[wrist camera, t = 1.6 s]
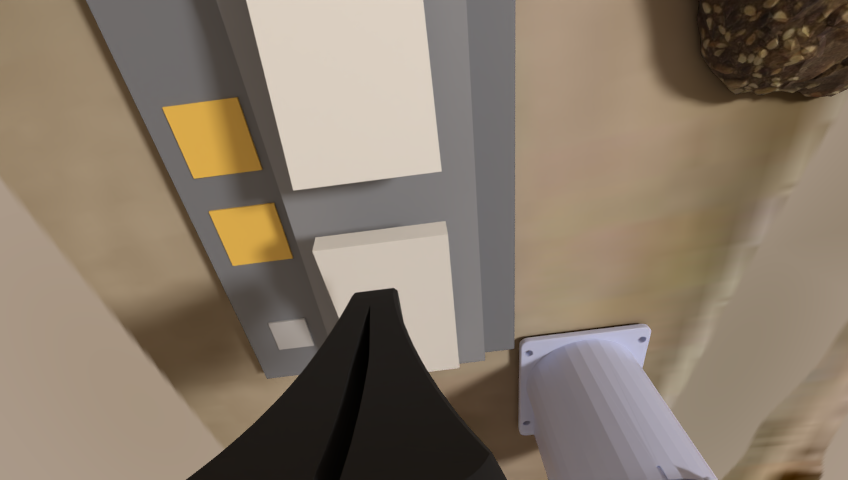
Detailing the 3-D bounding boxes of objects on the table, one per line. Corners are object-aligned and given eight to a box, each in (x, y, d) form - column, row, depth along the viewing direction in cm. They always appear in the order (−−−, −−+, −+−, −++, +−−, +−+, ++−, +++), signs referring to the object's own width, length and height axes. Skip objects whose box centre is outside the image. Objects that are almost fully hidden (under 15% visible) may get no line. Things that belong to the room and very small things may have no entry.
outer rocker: (439, 164, 14) (441, 171, 13) (303, 182, 14) (293, 190, 13) (404, -153, 11) (403, -185, 10) (230, -128, 11) (207, -156, 10)
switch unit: (510, 336, 24) (520, 368, 22) (271, 365, 24) (259, 400, 22) (507, -237, 12) (531, -294, 10) (28, -167, 12) (-54, -207, 10)
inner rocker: (456, 346, 21) (459, 368, 20) (364, 357, 21) (363, 379, 20) (444, 213, 15) (447, 234, 14) (317, 229, 15) (312, 251, 14)
